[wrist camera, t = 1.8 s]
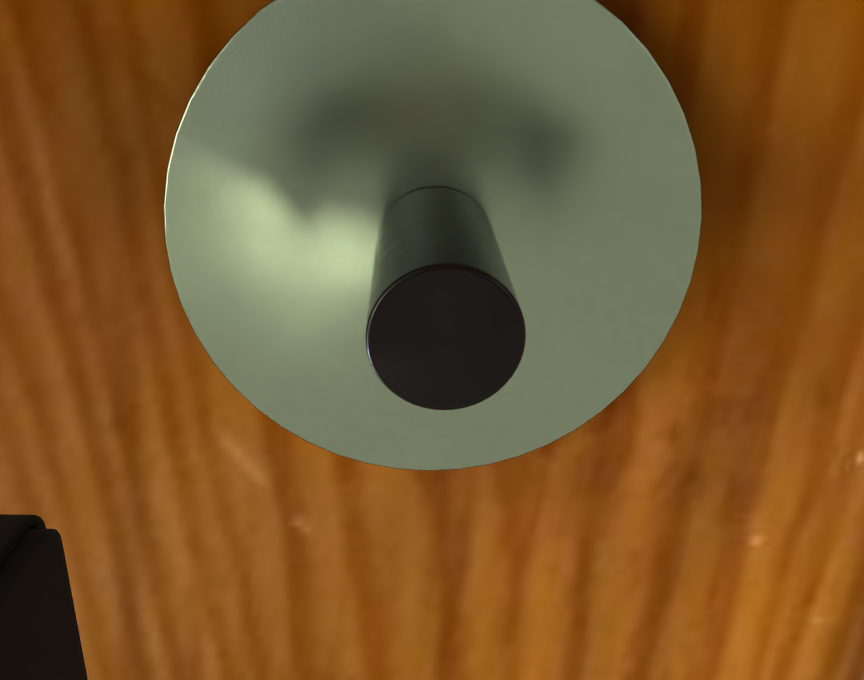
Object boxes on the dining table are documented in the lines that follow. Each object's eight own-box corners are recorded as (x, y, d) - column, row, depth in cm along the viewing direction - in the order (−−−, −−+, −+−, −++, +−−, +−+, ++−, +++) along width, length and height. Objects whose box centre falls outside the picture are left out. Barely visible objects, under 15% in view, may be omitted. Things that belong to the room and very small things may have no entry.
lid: (147, -62, 18) (4, -86, 12) (730, -41, 19) (902, -54, 12) (198, 447, 24) (120, 622, 17) (649, 452, 24) (738, 624, 18)
